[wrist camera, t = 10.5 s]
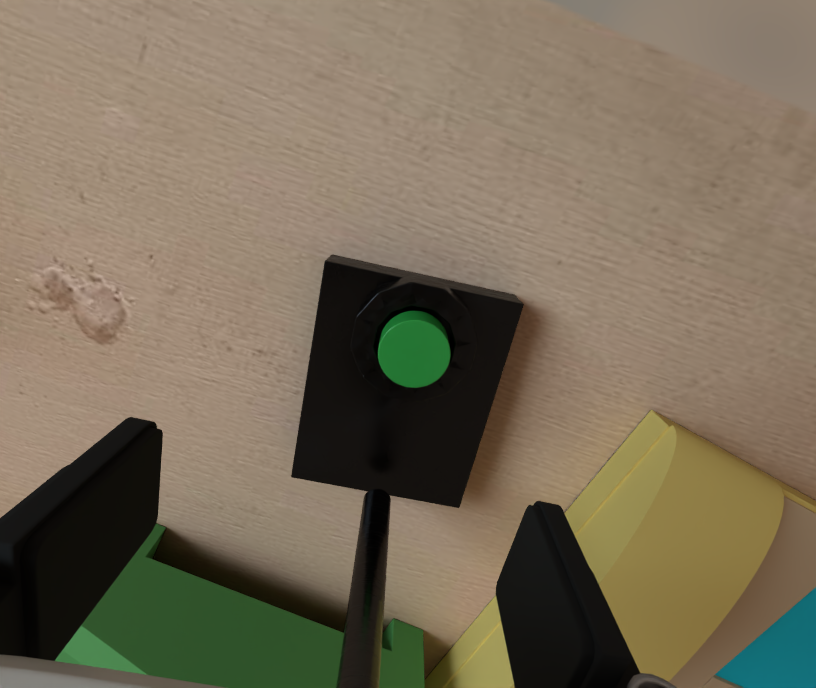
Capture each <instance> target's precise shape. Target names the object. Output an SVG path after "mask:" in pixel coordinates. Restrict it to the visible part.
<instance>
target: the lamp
mask: <svg viewBox="0 0 816 688" xmlns="http://www.w3.org/2000/svg"><path fill="white" fill-rule="evenodd" d="M390 503H391V499H390V496H389V494H388V493H387V492H386V491H384V490H382V489H372V490H370V491H368V492H367V493H366V494H365V496H364V501H363V508H362V514H361V521H360V528H359V535H358V542H357V548H356V555H355V562H354V569H353V576H352V582H351V589H350V596H349V603H348V610H347V616H346V623H345V630H344V637H343V643H342V650H341V657H340V664H339V671H338V677H337V684H336V688H379V681H380V665H381V649H382V632H383V616H384V600H385V584H386V568H387V552H388V535H389V519H390Z"/></svg>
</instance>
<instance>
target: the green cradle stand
mask: <svg viewBox="0 0 816 688" xmlns="http://www.w3.org/2000/svg"><path fill="white" fill-rule="evenodd" d="M165 529H166V527H163V526H161V525H158V524H155V527H154V529H153V530H152V532H151V534H150V535H149V536H148V538H147V539H146V540H145V541H144V543H143V544H142V545H141V547H140V548H139V549H138V551H137V552H136V553H135V555H134V556H133V557H132V559H131V560H130V561H129V563H128V564H127V565H126V567H125V568H124V569H123V571H122V572H121V573H120V575H119V576H118V577H117V579H116V580H115V581H114V583H113V584H112V585H111V587H110V588H109V589H108V591H107V592H106V593H105V595H104V596H103V597H102V599H101V600H100V601H99V603H98V604H97V605H96V606H95V608H94V609H93V610H92V612H91V613H90V614H89V616H88V617H87V618H86V620H85V621H84V622H83V624H82V625H81V626H80V628H79V629H78V630H77V632H76V633H75V634H74V636H73V637H72V638H71V640H70V641H69V642H68V644H67V645H66V646H65V648H64V649H63V650H62V652H61V653H60V654H59V656H58V657H57V658H56V660H55V661H57V662H65V663H72V664H79V665H86V666H93V667H100V668H107V669H113V670H119V671H125V672H132V673H138V674H144V675H150V676H157V677H163V678H169V679H175V680H182V681H188V682H194V683H200V684H206V685H213V686H219V687H225V688H336V684H337V677H338V671H339V664H340V657H341V650H342V643H343V637H344V633H342V632H340V631H337V630H335V629H332V628H329V627H327V626H324V625H322V624H319V623H316V622H314V621H311V620H309V619H306V618H303V617H301V616H298V615H296V614H293V613H290V612H288V611H285V610H283V609H280V608H277V607H275V606H272V605H270V604H267V603H264V602H262V601H259V600H257V599H254V598H251V597H249V596H246V595H244V594H241V593H239V592H236V591H233V590H231V589H228V588H226V587H223V586H220V585H218V584H215V583H213V582H210V581H207V580H205V579H202V578H200V577H197V576H194V575H192V574H189V573H187V572H184V571H181V570H179V569H176V568H174V567H171V566H168V565H166V564H163V563H161V562H158V561H155V560H153V559H152V558H153V556H154V554H155V551H156V549H157V547H158V545H159V542H160V540H161V538H162V536H163V533H164V531H165ZM379 688H425V682H424V646H423V630H421V629H419V628H416V627H414V626H411V625H409V624H406V623H404V622H401V621H399V620H396V619H393V620H392V621H391V623H390V624H389V625H388V627H387V628H386V630H385V631H384V632H383V634H382V649H381V665H380V681H379Z"/></svg>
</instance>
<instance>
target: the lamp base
mask: <svg viewBox="0 0 816 688" xmlns="http://www.w3.org/2000/svg"><path fill="white" fill-rule="evenodd" d="M523 305H524V304H523V303H522V302H521V301H520V300H519V299H518V298H517V297H516V296H515V295H514V294H509V293H504V292H500V291H495V290H491V289H486V288H482V287H477V286H473V285H468V284H463V283H459V282H454V281H450V280H445V279H441V278H436V277H432V276H427V275H423V274H418V273H413V272H409V271H404V270H400V269H395V268H391V267H386V266H382V265H377V264H372V263H368V262H363V261H359V260H354V259H350V258H345V257H341V256H336V255H331V256H330V257H329V258H328V259H327V260H325V263H324V270H323V276H322V283H321V289H320V295H319V302H318V308H317V315H316V321H315V328H314V334H313V340H312V347H311V353H310V360H309V366H308V372H307V379H306V385H305V392H304V398H303V404H302V411H301V417H300V424H299V430H298V436H297V443H296V449H295V456H294V462H293V469H292V475H291V477H294V478H299V479H304V480H310V481H315V482H321V483H326V484H332V485H337V486H342V487H348V488H353V489H359V490H364V491H370V490H372V489H382V490H384V491H386V492H387V493H388V494H389V495H391V496H397V497H402V498H408V499H413V500H418V501H424V502H429V503H435V504H440V505H446V506H451V507H456V508H459V507H460V504H461V501H462V497H463V494H464V491H465V488H466V485H467V482H468V479H469V475H470V472H471V469H472V466H473V463H474V460H475V456H476V453H477V450H478V447H479V444H480V441H481V438H482V434H483V431H484V428H485V425H486V422H487V419H488V415H489V412H490V409H491V406H492V403H493V400H494V397H495V393H496V390H497V387H498V384H499V381H500V378H501V374H502V371H503V368H504V365H505V362H506V359H507V356H508V352H509V349H510V346H511V343H512V340H513V337H514V333H515V330H516V327H517V324H518V321H519V318H520V315H521V311H522V308H523ZM407 311H422V312H425V313H428V314H430V315H432V316H434V317H435V318H436V319H438V320H439V321H440V322H441V324H442V325H443V327H444V328H445V330H446V333H447V337H448V341H449V345H450V350H451V357H450V362H449V365H448V367H447V369H446V371H445V372H444V374H443V375H442V376H441V377H440V378H439V379H438V380H437V381H435V382H433V383H432V384H430V385H427V386H424V387H418V388H410V387H405V386H401V385H399V384H397V383H395V382H393V381H392V380H391V379H389V378H388V377H387V376H386V375H385V373H384V372H383V370H382V369H381V366H380V364H379V360H378V347H379V342H380V337H381V333H382V331H383V328H384V327H385V325H386V324H387V323H388V322H389V321H390V320H391V319H392V318H393V317H395V316H396V315H398V314H400V313H403V312H407Z"/></svg>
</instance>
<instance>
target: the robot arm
mask: <svg viewBox="0 0 816 688" xmlns="http://www.w3.org/2000/svg"><path fill="white" fill-rule="evenodd" d="M162 438H163V433H162V430H160V429H157V426H156V423H155V422H152V421H147V420H142V419H138V418H133V417H129V418H127V419H125V420H124V421H123V422H122V423H120V424H119V425H118V426H117V427H116V428H114V429H113V430H112V431H111V432H109V433H108V434H107V435H106V436H104V437H103V438H102V439H101V440H100V441H98V442H97V443H96V444H95V445H93V446H92V447H91V448H90V449H88V450H87V451H86V452H85V453H84V454H82V455H81V456H80V457H79V458H77V459H76V460H75V461H74V462H72V463H71V464H70V465H67V466H66V467H64V468H62V469H61V470H60V471H58V472H57V473H56V474H55V475H53V476H52V477H51V478H50V479H48V480H47V481H46V482H45V483H43V484H42V485H41V486H40V487H39V488H37V489H36V490H35V491H34V492H32V493H31V494H30V495H29V496H27V497H26V498H25V499H24V500H22V501H21V502H20V503H19V504H17V505H16V506H15V507H14V508H12V509H11V510H10V511H9V512H7V513H6V514H5V515H4V516H2V517H1V518H0V688H225V687H219V686H213V685H206V684H200V683H194V682H188V681H182V680H175V679H169V678H163V677H157V676H150V675H144V674H138V673H132V672H125V671H119V670H113V669H107V668H100V667H93V666H86V665H79V664H72V663H65V662H57V661H55V660H56V658H57V657H58V656H59V654H60V653H61V652H62V650H63V649H64V648H65V646H66V645H67V644H68V642H69V641H70V640H71V638H72V637H73V636H74V634H75V633H76V632H77V630H78V629H79V628H80V626H81V625H82V624H83V622H84V621H85V620H86V618H87V617H88V616H89V614H90V613H91V612H92V610H93V609H94V608H95V606H96V605H97V604H98V603H99V601H100V600H101V599H102V597H103V596H104V595H105V593H106V592H107V591H108V589H109V588H110V587H111V585H112V584H113V583H114V581H115V580H116V579H117V577H118V576H119V575H120V573H121V572H122V571H123V569H124V568H125V567H126V565H127V564H128V563H129V561H130V560H131V559H132V557H133V556H134V555H135V553H136V552H137V551H138V549H139V548H140V547H141V545H142V544H143V543H144V541H145V540H146V539H147V538H148V536H149V535H150V534H151V532H152V530H153V529H154V527H155V524H156V521H157V517H158V503H159V487H160V470H161V454H162ZM496 598H497V603H498V608H499V613H500V618H501V623H502V628H503V633H504V637H505V642H506V647H507V652H508V657H509V662H510V667H511V671H512V676H513V681H514V686H515V688H677V687H676V686H674V685H672V684H671V683H669V682H668V681H666V680H665V679H663V678H660V677H658V676H655V675H653V674H646V673H640V671H639V669H638V667H637V665H636V663H635V661H634V658H633V656H632V654H631V652H630V650H629V648H628V646H627V644H626V641H625V639H624V637H623V635H622V633H621V631H620V629H619V626H618V624H617V622H616V620H615V618H614V616H613V614H612V612H611V609H610V607H609V605H608V603H607V601H606V599H605V597H604V595H603V592H602V590H601V588H600V586H599V584H598V582H597V580H596V578H595V575H594V573H593V572H592V570H591V569H590V567H589V565H588V563H587V561H586V559H585V557H584V555H583V552H582V550H581V548H580V546H579V544H578V542H577V540H576V537H575V535H574V533H573V531H572V529H571V527H570V525H569V522H568V520H567V518H566V516H565V514H564V512H563V510H562V508H561V506H559V505H556V504H551V503H546V502H541V501H537V502H536V503H535V504H534V505H533V506H532V505H529V506H528V507H527V509H526V511H525V513H524V516H523V518H522V521H521V523H520V526H519V528H518V531H517V533H516V536H515V538H514V541H513V543H512V546H511V549H510V551H509V554H508V556H507V559H506V561H505V564H504V566H503V569H502V571H501V574H500V576H499V579H498V581H497V586H496Z"/></svg>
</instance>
